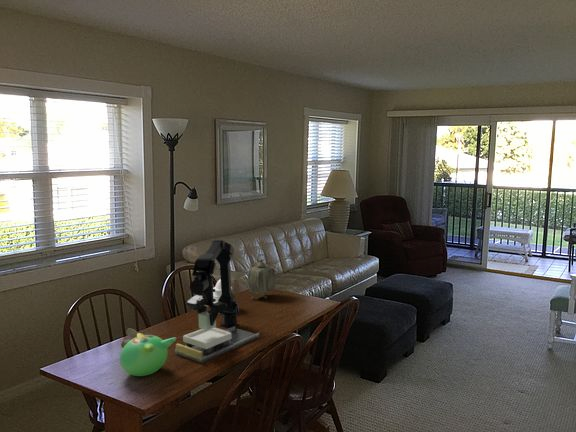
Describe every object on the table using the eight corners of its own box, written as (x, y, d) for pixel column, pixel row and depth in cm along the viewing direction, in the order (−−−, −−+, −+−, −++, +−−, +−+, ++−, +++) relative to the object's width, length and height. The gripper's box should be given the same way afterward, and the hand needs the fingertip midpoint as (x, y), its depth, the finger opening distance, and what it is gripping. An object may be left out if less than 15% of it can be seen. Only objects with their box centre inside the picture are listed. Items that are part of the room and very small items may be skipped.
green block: (198, 327, 204) (198, 313, 203) (208, 324, 208) (207, 310, 207) (207, 330, 201) (206, 316, 200) (216, 326, 204) (215, 312, 204)
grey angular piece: (128, 352, 200) (121, 328, 203) (121, 357, 204) (113, 334, 206) (146, 346, 207) (139, 324, 210) (138, 351, 211) (131, 329, 213)
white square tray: (183, 348, 204) (183, 335, 203) (210, 337, 215) (210, 325, 215) (206, 356, 195) (206, 343, 194) (233, 344, 207) (233, 332, 206)
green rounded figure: (144, 360, 195) (141, 324, 194) (179, 366, 189) (177, 329, 187) (111, 379, 179) (109, 340, 177) (149, 387, 173) (147, 346, 171)
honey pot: (240, 310, 257) (239, 276, 255) (218, 315, 249) (217, 280, 247) (226, 304, 267) (225, 272, 265) (206, 309, 259) (204, 276, 257)
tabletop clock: (264, 293, 286) (263, 251, 283) (276, 296, 281) (275, 253, 278) (248, 300, 275) (247, 255, 272) (261, 302, 269) (259, 257, 266)
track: (175, 353, 202) (174, 344, 201) (234, 329, 228) (233, 321, 227) (201, 363, 192) (200, 353, 191) (259, 337, 218) (259, 328, 218)
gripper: (175, 288, 202) (177, 325, 203) (206, 295, 190) (208, 334, 192) (196, 282, 210) (198, 317, 212) (227, 289, 199) (228, 326, 201)
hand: (207, 324), depth 204 cm, fingers closed on green block, 5 cm apart
